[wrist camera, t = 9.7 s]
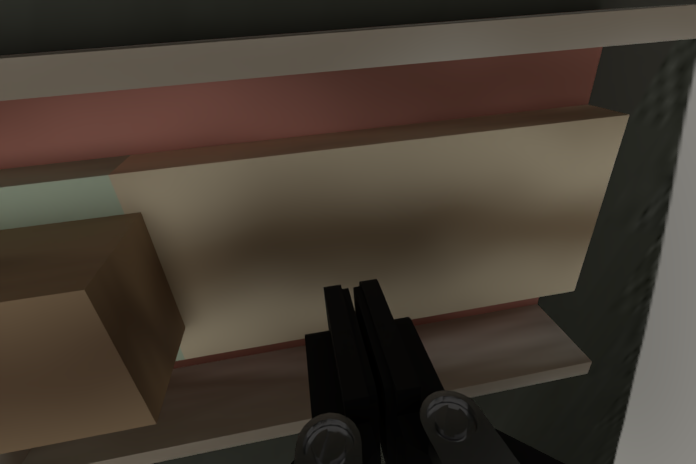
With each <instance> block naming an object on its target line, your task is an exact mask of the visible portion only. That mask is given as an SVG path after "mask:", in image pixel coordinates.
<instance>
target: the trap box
mask: <svg viewBox="0 0 696 464" xmlns="http://www.w3.org/2000/svg"><path fill="white" fill-rule="evenodd" d="M695 38H696V4H687V5H669V6H652V7H635V8H617V9H600V10H587V11H574V12H561V13H548V14H535V15H522V16H509V17H496V18H483V19H470V20H457V21H444V22H430V23H417V24H404V25H391V26H378V27H365V28H352V29H339V30H326V31H313V32H300V33H287V34H274V35H261V36H247V37H234V38H221V39H208V40H195V41H182V42H169V43H156V44H143V45H130V46H117V47H104V48H91V49H78V50H65V51H51V52H38V53H25V54H12V55H0V230H4V229H12V228H20V227H28V226H36V225H44V224H52V223H60V222H68V221H76V220H84V219H91V218H99V217H107V216H115V215H123V214H131V213H139V212H141V214H142V216H143V219H144V222H145V224H146V227H147V229H148V232H149V234H150V237H151V240H152V242H153V245H154V247H155V250H156V252H157V255H158V258H159V260H160V263H161V265H162V268H163V271H164V273H165V276H166V278H167V281H168V283H169V286H170V289H171V291H172V294H173V296H174V299H175V302H176V304H177V307H178V309H179V312H180V314H181V317H182V320H183V322H184V325H185V331H184V334H183V337H182V341H181V344H180V347H179V351H178V354H177V357H176V361H175V364H174V368H173V371H172V374H171V378H170V381H169V384H168V388H167V391H166V394H165V398H164V401H163V404H162V408H161V411H160V414H159V418H158V421H157V424H154V425H149V426H144V427H139V428H133V429H128V430H123V431H118V432H113V433H108V434H102V435H97V436H92V437H87V438H82V439H76V440H71V441H66V442H61V443H56V444H51V445H45V446H40V447H35V448H30V449H25V450H19V451H14V452H9V453H4V454H0V464H152V463H157V462H161V461H166V460H171V459H176V458H181V457H186V456H191V455H195V454H200V453H205V452H210V451H215V450H220V449H224V448H229V447H234V446H239V445H244V444H249V443H253V442H258V441H263V440H268V439H273V438H278V437H282V436H287V435H292V434H297V433H300V432H301V430H302V428H303V427H304V425H306V424H307V423H308V422H309V421H310V420H311V419H312V415H311V404H310V392H309V381H308V369H307V358H306V346H305V334H311V333H317V332H323V331H328V330H329V329H328V321H327V313H326V305H325V297H324V288H323V287H327V286H334V285H340V284H341V287H342V289H345V288H348V289H349V292H350V295H351V299H352V303H353V306H354V310H355V305H354V292H353V287H358V286H359V282H360V281H365V280H372V279H377V280H378V282H379V284H380V287H381V289H382V292H383V294H384V297H385V299H386V301H387V304H388V306H389V309H390V311H391V314H392V316H393V319H398V318H404V317H409V318H410V319H411V320H412V322H413V324H414V326H415V328H416V330H417V333H418V335H419V337H420V339H421V341H422V343H423V345H424V347H425V350H426V352H427V354H428V356H429V358H430V360H431V362H432V364H433V367H434V369H435V371H436V373H437V375H438V377H439V379H440V381H441V383H442V386H443V388H444V390H449V391H456V392H458V393H461V394H464V395H465V396H467V397H469V398H471V397H476V396H481V395H486V394H490V393H495V392H500V391H505V390H510V389H515V388H519V387H524V386H529V385H534V384H539V383H544V382H549V381H553V380H558V379H563V378H568V377H573V376H578V375H582V374H587V373H588V370H589V368H590V365H591V363H592V361H591V360H590V359H589V358H588V357H587V356H586V355H585V354H584V353H583V352H582V351H581V350H580V349H579V347H578V346H577V345H576V344H575V343H574V342H573V341H572V340H571V339H570V338H569V337H568V336H567V335H566V334H565V333H564V332H563V331H562V330H561V329H560V327H559V326H558V325H557V324H556V323H555V322H554V321H553V320H552V319H551V318H550V317H549V316H548V315H547V314H546V313H545V312H544V311H543V310H542V309H541V307H540V306H539V305H538V304H537V303H538V299H539V297H542V296H548V295H554V294H559V293H565V292H571V291H574V290H575V287H576V284H577V281H578V277H579V274H580V271H581V268H582V265H583V262H584V258H585V255H586V252H587V249H588V246H589V242H590V239H591V236H592V233H593V230H594V227H595V223H596V220H597V217H598V214H599V211H600V207H601V204H602V201H603V198H604V195H605V191H606V188H607V185H608V182H609V179H610V176H611V172H612V169H613V166H614V163H615V160H616V156H617V153H618V150H619V147H620V144H621V140H622V137H623V134H624V131H625V128H626V125H627V121H628V118H629V114H625V113H620V112H616V111H612V110H608V109H604V108H600V107H596V106H592V105H588V103H589V99H590V95H591V91H592V87H593V83H594V79H595V75H596V71H597V67H598V63H599V59H600V56H601V52H602V48H603V47H606V46H617V45H628V44H639V43H650V42H661V41H672V40H683V39H695Z"/></svg>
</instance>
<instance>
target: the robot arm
mask: <svg viewBox="0 0 696 464" xmlns="http://www.w3.org/2000/svg"><path fill="white" fill-rule="evenodd" d="M323 288H324V297H325V305H326V313H327V321H328V329H329V330H328V331H323V332H317V333H311V334H305V346H306V358H307V369H308V381H309V392H310V404H311V415H312V419H311V420H310V421H309V422H308V423H307V424H306V425H304V427H303V428H302V430H301V432H300V433H299V435H298V439H297V442H296V448H295V458H294V461H293V462H292V463H291V464H381V456H380V443H381V447H382V451H383V455H384V459H385V463H386V464H564V463H562V462H560V461H558V460H556V459H554V458H552V457H550V456H548V455H546V454H544V453H542V452H540V451H538V450H536V449H534V448H532V447H530V446H528V445H526V444H524V443H522V442H520V441H518V440H516V439H514V438H512V437H510V436H508V435H506V434H505V433H503V432H501V431H499V430H497V429H495V428H494V427H493V426H492V424H491V423H490V422H489V420H488V419H487V417H486V416H485V415H484V413H483V412H482V411H481V409H480V408H479V407H478V406H477V404H476V403H475V402H474V401H473V400H472V399H470V398H469V397H467V396H465V395H464V394H461V393H458V392H456V391H449V390H444V388H443V386H442V383H441V381H440V379H439V377H438V375H437V373H436V371H435V369H434V367H433V364H432V362H431V360H430V358H429V356H428V354H427V352H426V350H425V347H424V345H423V343H422V341H421V339H420V337H419V335H418V333H417V330H416V328H415V326H414V324H413V322H412V320H411V319H410V318H409V317H404V318H398V319H393V316H392V314H391V311H390V309H389V306H388V304H387V301H386V299H385V297H384V294H383V292H382V289H381V287H380V284H379V282H378V280H377V279H372V280H365V281H360V282H359V286H358V287H353V292H354V305H355V310H354V306H353V303H352V299H351V295H350V292H349V289H348V288H345V289H342V287H341V284H340V285H334V286H327V287H323Z"/></svg>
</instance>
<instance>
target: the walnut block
mask: <svg viewBox="0 0 696 464" xmlns="http://www.w3.org/2000/svg"><path fill="white" fill-rule="evenodd" d="M184 331H185V325H184V322H183V320H182V317H181V314H180V312H179V309H178V307H177V304H176V302H175V299H174V296H173V294H172V291H171V289H170V286H169V283H168V281H167V278H166V276H165V273H164V271H163V268H162V265H161V263H160V260H159V258H158V255H157V252H156V250H155V247H154V245H153V242H152V240H151V237H150V234H149V232H148V229H147V227H146V224H145V222H144V219H143V216H142V214H141V212H139V213H131V214H123V215H115V216H107V217H99V218H91V219H84V220H76V221H68V222H60V223H52V224H44V225H36V226H28V227H20V228H12V229H4V230H0V454H4V453H9V452H14V451H19V450H25V449H30V448H35V447H40V446H45V445H51V444H56V443H61V442H66V441H71V440H76V439H82V438H87V437H92V436H97V435H102V434H108V433H113V432H118V431H123V430H128V429H133V428H139V427H144V426H149V425H154V424H157V421H158V418H159V414H160V411H161V408H162V404H163V401H164V398H165V394H166V391H167V388H168V384H169V381H170V378H171V374H172V371H173V368H174V364H175V361H176V357H177V354H178V351H179V347H180V344H181V341H182V337H183V334H184Z"/></svg>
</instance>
